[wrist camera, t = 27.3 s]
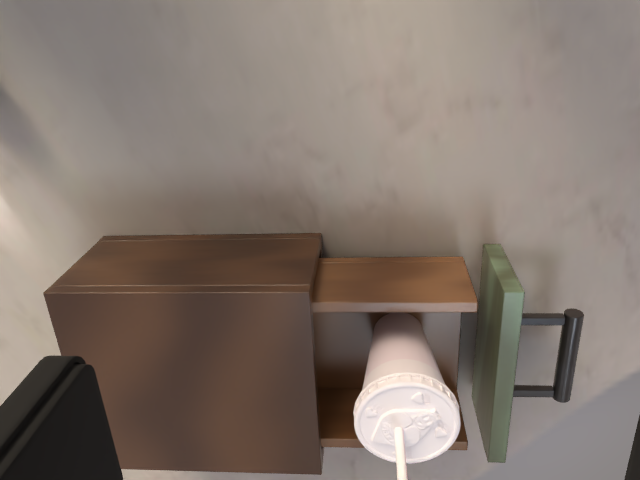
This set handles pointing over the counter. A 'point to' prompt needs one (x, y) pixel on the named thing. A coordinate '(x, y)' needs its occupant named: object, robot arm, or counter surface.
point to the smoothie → (404, 397)
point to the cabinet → (199, 348)
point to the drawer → (430, 335)
